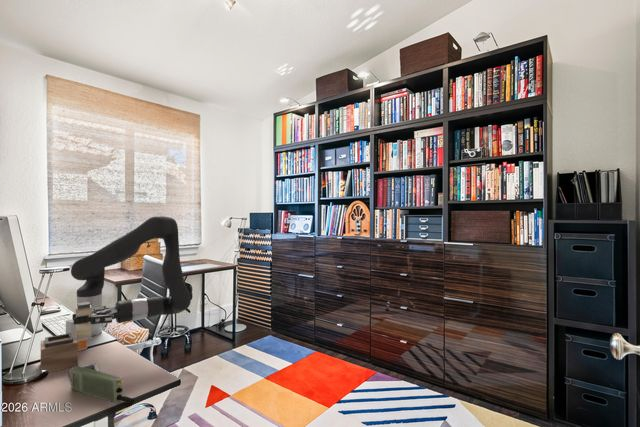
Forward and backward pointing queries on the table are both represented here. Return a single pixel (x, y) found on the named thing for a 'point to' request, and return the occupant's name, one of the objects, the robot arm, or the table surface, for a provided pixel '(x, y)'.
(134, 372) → the table surface
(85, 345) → the skincare box
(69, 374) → the low socket
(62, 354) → the walnut dock
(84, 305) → the beech plug
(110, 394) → the handheld radio
